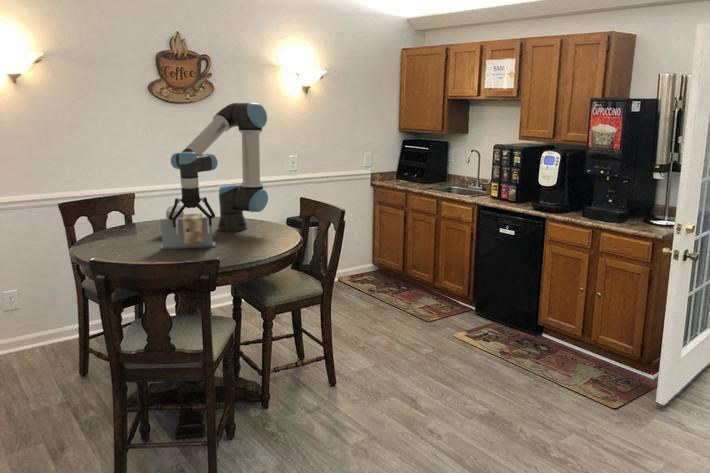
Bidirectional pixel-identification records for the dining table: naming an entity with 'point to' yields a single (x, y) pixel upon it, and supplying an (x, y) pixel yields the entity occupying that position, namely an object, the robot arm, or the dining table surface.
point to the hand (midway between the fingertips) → (193, 233)
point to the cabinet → (192, 228)
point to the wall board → (177, 241)
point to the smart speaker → (174, 212)
